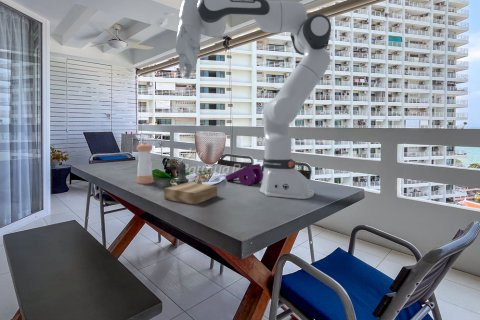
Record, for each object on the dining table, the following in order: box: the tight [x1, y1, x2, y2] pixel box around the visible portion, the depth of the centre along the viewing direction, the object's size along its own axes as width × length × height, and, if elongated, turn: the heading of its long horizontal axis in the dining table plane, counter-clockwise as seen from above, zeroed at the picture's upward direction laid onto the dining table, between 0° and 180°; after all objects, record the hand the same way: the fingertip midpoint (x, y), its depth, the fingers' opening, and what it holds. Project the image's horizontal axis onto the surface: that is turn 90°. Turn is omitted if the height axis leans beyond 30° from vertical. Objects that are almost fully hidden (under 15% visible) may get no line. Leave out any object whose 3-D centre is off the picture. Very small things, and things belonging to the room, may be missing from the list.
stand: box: [163, 181, 218, 205], centre depth 103 cm, size 14×14×4 cm
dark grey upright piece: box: [175, 161, 190, 185], centre depth 119 cm, size 6×6×12 cm
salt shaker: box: [136, 142, 154, 185], centre depth 130 cm, size 7×7×19 cm
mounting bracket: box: [225, 163, 264, 187], centre depth 134 cm, size 9×8×18 cm
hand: (184, 73), depth 105 cm, fingers open, 8 cm apart
